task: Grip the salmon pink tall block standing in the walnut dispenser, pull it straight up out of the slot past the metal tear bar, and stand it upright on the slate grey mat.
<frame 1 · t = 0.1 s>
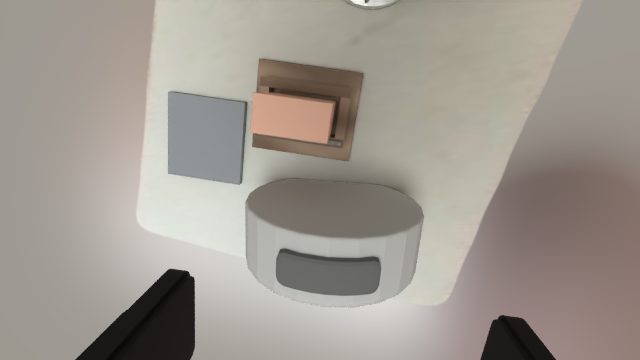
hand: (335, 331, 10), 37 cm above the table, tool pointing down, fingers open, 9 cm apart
salmon pink tall block: (305, 111, 43), point 1 cm above the table, touching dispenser
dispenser: (306, 111, 44), on the table
alarm clock: (334, 204, 48), on the table
mat: (207, 138, 46), on the table
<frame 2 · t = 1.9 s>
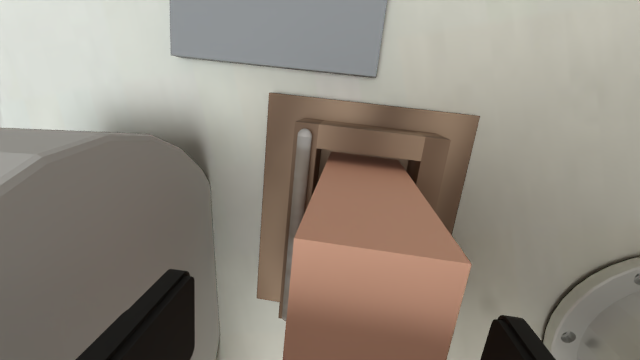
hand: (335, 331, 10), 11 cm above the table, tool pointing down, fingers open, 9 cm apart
salmon pink tall block: (355, 217, 20), point 1 cm above the table, touching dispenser
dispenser: (355, 212, 21), on the table
alarm clock: (168, 261, 23), on the table
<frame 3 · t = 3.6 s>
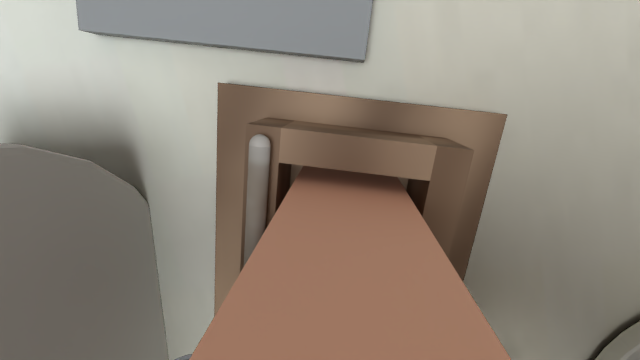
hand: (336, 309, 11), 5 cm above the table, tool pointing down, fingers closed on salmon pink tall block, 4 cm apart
salmon pink tall block: (338, 249, 15), point 1 cm above the table, touching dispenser, gripper
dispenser: (339, 240, 16), on the table
alarm clock: (102, 301, 18), on the table
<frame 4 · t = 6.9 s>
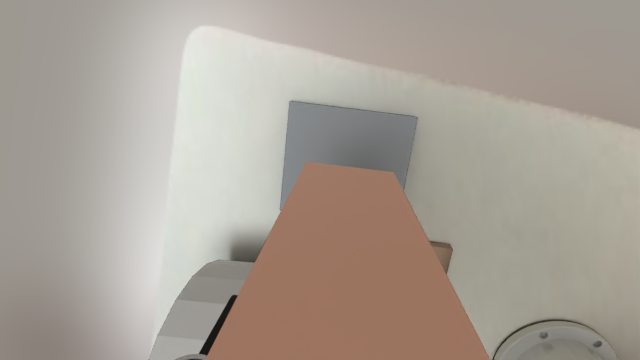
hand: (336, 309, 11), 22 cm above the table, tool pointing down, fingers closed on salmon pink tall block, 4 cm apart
salmon pink tall block: (338, 244, 15), point 17 cm above the table, touching gripper
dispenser: (381, 293, 35), on the table
alarm clock: (262, 318, 37), on the table
mat: (344, 164, 31), on the table
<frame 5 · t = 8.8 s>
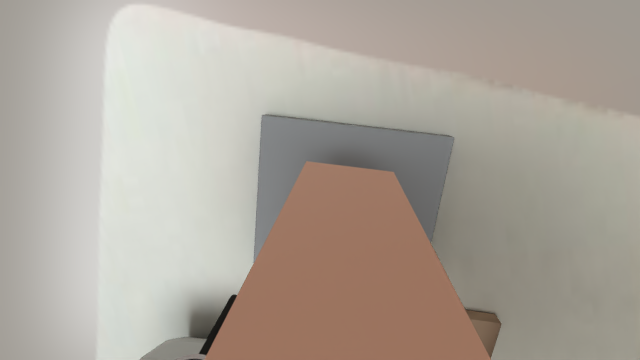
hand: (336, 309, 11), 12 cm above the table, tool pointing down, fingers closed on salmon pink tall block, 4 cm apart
salmon pink tall block: (338, 243, 15), point 7 cm above the table, touching gripper
mat: (345, 204, 22), on the table
when the fingers open (7 cm above the table, at t = 10.4 s): salmon pink tall block drops 1 cm, resting on mat.
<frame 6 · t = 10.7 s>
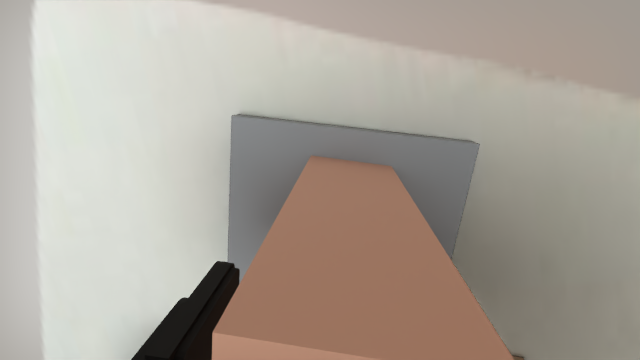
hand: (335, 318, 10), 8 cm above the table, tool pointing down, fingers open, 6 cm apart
salmon pink tall block: (340, 233, 17), point 1 cm above the table, touching mat
mat: (339, 225, 18), on the table
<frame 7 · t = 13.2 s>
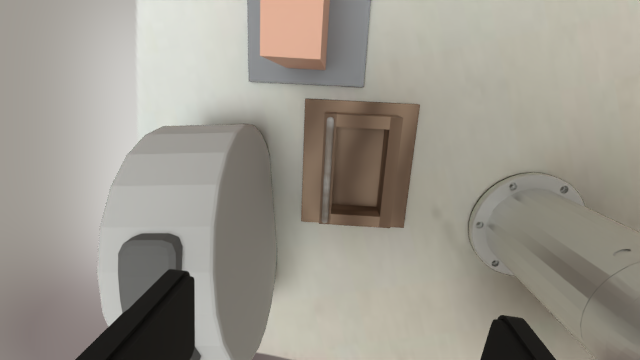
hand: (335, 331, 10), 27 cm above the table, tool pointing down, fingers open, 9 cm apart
salmon pink tall block: (308, 26, 31), point 1 cm above the table, touching mat
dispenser: (356, 164, 36), on the table
alarm clock: (243, 205, 38), on the table
mat: (308, 28, 32), on the table
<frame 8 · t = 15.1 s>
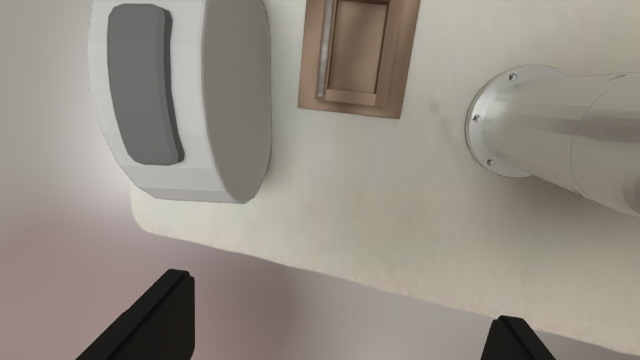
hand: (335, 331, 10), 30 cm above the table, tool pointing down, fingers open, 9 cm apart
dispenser: (356, 50, 36), on the table
alarm clock: (241, 91, 38), on the table
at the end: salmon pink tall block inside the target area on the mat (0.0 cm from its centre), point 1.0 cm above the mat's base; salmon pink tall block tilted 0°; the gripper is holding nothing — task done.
